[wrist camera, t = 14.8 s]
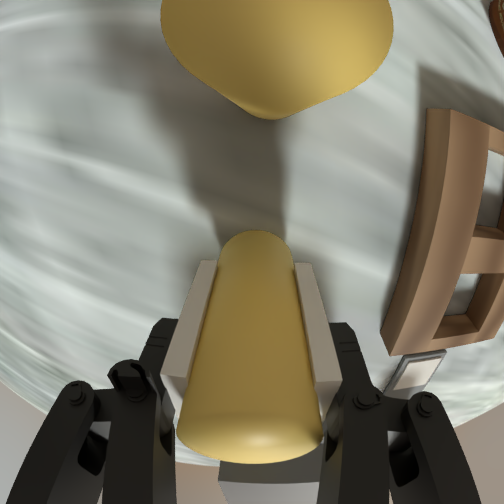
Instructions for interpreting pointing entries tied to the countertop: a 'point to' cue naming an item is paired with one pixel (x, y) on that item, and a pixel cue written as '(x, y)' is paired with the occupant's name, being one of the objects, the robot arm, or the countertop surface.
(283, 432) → the peg
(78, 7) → the countertop surface
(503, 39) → the food container
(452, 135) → the socket board
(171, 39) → the peg
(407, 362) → the grey and yellow fixture
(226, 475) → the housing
